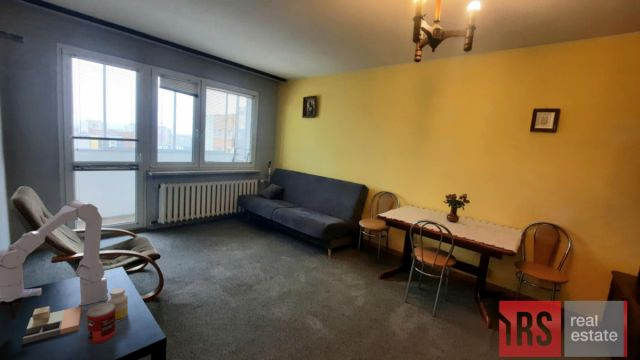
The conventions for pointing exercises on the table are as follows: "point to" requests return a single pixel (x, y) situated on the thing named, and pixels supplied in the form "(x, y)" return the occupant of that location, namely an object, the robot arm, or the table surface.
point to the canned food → (101, 322)
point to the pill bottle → (119, 303)
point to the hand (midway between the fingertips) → (14, 318)
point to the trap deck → (54, 325)
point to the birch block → (41, 315)
